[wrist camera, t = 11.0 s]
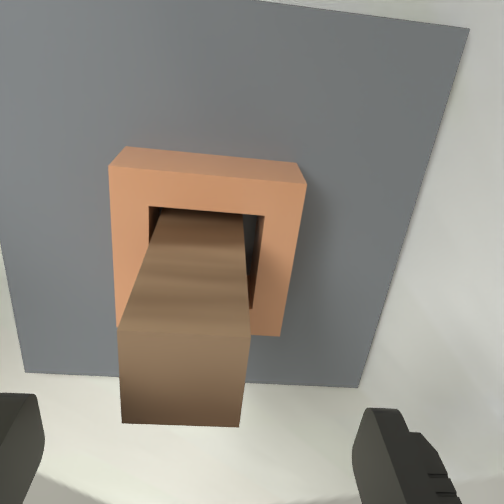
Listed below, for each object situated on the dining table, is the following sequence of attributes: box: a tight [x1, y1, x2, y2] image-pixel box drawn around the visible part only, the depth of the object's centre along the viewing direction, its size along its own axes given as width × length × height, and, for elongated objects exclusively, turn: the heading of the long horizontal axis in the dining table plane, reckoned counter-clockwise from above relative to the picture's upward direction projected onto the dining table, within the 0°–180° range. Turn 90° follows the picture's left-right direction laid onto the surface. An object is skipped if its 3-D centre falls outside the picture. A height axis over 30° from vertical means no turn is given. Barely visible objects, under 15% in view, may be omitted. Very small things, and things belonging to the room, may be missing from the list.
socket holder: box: [0, 0, 470, 388], centre depth 20 cm, size 20×20×4 cm
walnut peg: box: [117, 207, 251, 427], centre depth 16 cm, size 4×4×10 cm
